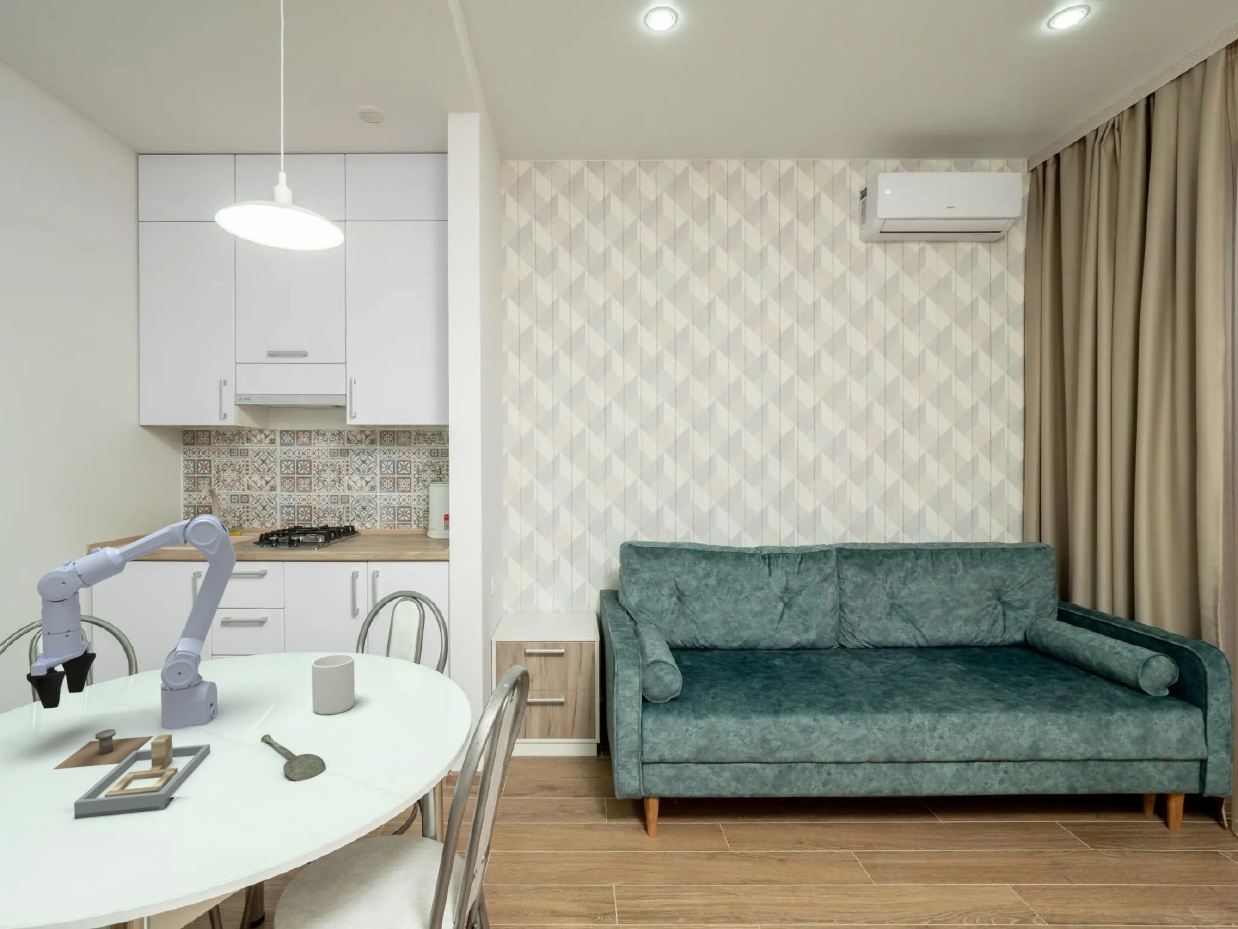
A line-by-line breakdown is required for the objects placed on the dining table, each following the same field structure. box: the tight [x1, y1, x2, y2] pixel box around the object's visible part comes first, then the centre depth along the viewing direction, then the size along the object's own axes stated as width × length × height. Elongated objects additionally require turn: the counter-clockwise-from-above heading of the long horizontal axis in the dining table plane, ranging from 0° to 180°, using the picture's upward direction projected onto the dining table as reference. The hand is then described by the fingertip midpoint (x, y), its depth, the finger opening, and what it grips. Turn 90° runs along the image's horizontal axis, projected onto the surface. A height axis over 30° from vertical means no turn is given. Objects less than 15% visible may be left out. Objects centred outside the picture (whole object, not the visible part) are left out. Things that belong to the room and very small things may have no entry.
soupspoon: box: [260, 733, 326, 782], centre depth 121 cm, size 22×3×7 cm
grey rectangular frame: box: [73, 743, 211, 819], centre depth 111 cm, size 13×18×2 cm
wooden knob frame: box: [104, 733, 179, 797], centre depth 111 cm, size 12×8×6 cm, turn 12°
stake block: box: [53, 728, 154, 770], centre depth 121 cm, size 11×11×5 cm
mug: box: [311, 653, 356, 715], centre depth 145 cm, size 9×12×11 cm
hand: (64, 699), depth 125 cm, fingers open, 7 cm apart
